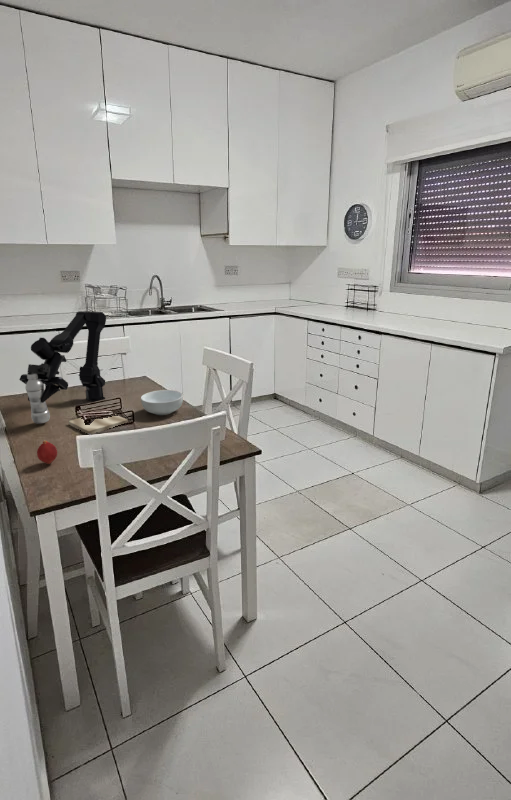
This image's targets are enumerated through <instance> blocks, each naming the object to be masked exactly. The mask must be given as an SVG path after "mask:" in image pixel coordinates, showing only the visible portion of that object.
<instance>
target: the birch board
mask: <svg viewBox="0 0 511 800" xmlns="http://www.w3.org/2000/svg"><path fill="white" fill-rule="evenodd" d="M81 418H82V417H79V418H75V419H72V420H69V421H68V425H70V426H71V427H72V428H75V429H76V428H77V430H78V429H79V430H78V431H80V430H81V431H80V432H82V433H84V432H85V433H84V434H86V433H91V435H94V434H97V433H96V432H98V433H101V432H105V431H107V429H108V430H110V429H109V428H111V429H114V428H113V427H115V426H118V425H121V424H124V423H127V422H128V423H129V421H128V419H127V418H125V417H122V416H120V415H118V416H112V417H108V418H103V419H95V420H94V421H93V422H92V423H91V424H90V425H85V423H84V420H83V419H81ZM121 426H122V425H121ZM118 427H119V426H118ZM115 428H116V427H115ZM104 430H105V431H104Z"/></svg>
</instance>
